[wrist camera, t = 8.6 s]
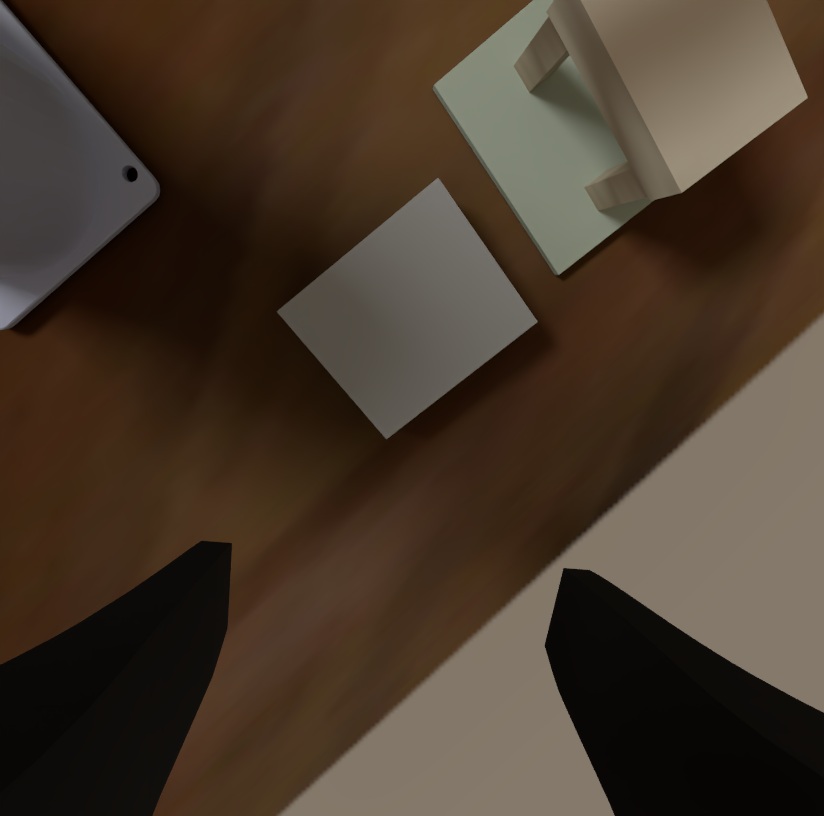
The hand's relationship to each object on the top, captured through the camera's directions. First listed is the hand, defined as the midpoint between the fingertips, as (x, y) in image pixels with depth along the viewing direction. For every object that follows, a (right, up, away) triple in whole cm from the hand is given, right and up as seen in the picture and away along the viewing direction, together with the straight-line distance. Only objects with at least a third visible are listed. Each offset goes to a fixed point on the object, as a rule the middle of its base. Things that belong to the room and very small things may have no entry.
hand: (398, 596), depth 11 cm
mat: (+7, +15, +7) cm, 18 cm away
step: (0, +8, +9) cm, 12 cm away
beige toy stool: (+7, +15, +7) cm, 18 cm away
